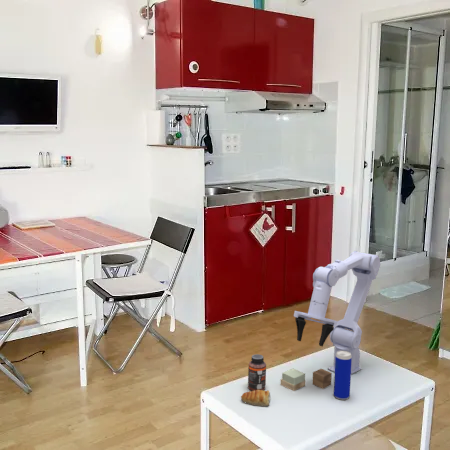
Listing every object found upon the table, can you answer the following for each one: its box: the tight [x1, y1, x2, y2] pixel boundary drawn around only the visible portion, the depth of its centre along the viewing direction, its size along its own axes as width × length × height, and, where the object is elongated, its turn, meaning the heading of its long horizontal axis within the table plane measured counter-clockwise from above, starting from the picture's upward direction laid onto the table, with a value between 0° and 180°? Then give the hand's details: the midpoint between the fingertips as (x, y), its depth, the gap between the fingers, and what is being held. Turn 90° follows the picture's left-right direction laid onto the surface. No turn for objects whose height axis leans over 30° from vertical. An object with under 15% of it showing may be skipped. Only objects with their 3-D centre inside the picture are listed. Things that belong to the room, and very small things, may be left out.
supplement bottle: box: [247, 353, 267, 391], centre depth 183 cm, size 6×6×11 cm
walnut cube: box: [311, 368, 332, 390], centre depth 187 cm, size 4×4×4 cm
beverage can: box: [333, 351, 352, 401], centre depth 178 cm, size 5×5×15 cm
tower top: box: [281, 368, 306, 385], centre depth 186 cm, size 6×6×2 cm
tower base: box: [279, 378, 306, 392], centre depth 186 cm, size 6×6×2 cm
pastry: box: [240, 389, 271, 407], centre depth 175 cm, size 9×7×4 cm
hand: (309, 343), depth 180 cm, fingers open, 7 cm apart
